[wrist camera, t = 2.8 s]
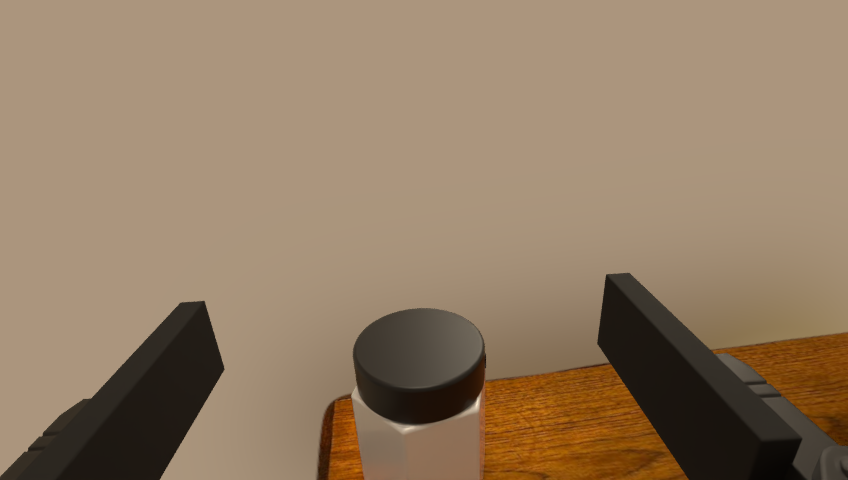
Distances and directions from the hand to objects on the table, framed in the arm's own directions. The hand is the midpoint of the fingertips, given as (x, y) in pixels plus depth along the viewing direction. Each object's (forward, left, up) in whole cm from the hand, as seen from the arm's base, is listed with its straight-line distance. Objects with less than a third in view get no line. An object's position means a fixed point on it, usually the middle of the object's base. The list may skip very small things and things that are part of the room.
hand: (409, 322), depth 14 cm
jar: (+3, +9, -20) cm, 22 cm away
